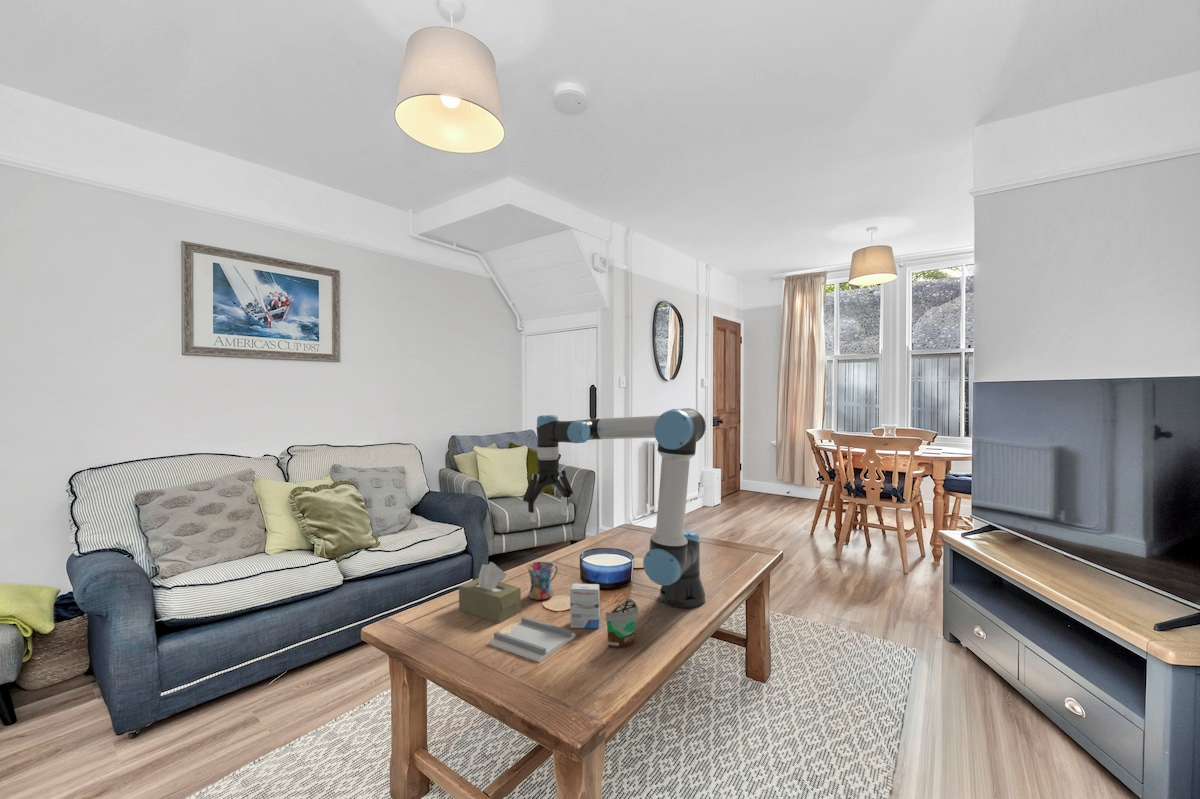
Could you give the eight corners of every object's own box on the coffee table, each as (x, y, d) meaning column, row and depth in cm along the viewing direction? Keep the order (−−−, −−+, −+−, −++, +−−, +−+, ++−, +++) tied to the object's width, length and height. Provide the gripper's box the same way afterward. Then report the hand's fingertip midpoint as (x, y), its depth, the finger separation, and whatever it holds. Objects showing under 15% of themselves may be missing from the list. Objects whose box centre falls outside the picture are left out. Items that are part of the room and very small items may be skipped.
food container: (625, 655, 135) (625, 617, 135) (605, 649, 139) (605, 612, 138) (646, 636, 146) (646, 601, 146) (627, 631, 149) (627, 597, 149)
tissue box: (521, 612, 163) (521, 563, 163) (499, 624, 155) (499, 572, 155) (480, 599, 173) (480, 553, 173) (458, 610, 165) (457, 561, 165)
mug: (538, 604, 169) (538, 572, 169) (521, 596, 175) (521, 566, 175) (566, 594, 177) (565, 563, 177) (549, 587, 184) (548, 557, 184)
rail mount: (575, 637, 146) (575, 628, 146) (539, 662, 132) (539, 652, 132) (527, 622, 155) (527, 614, 155) (489, 644, 142) (489, 635, 142)
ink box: (600, 621, 155) (599, 583, 155) (598, 629, 151) (598, 589, 150) (572, 620, 156) (572, 582, 156) (570, 628, 151) (569, 588, 151)
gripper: (569, 454, 192) (570, 510, 193) (512, 461, 176) (513, 522, 176) (581, 456, 187) (582, 513, 187) (524, 463, 170) (525, 526, 170)
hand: (549, 518), depth 181 cm, fingers open, 13 cm apart
